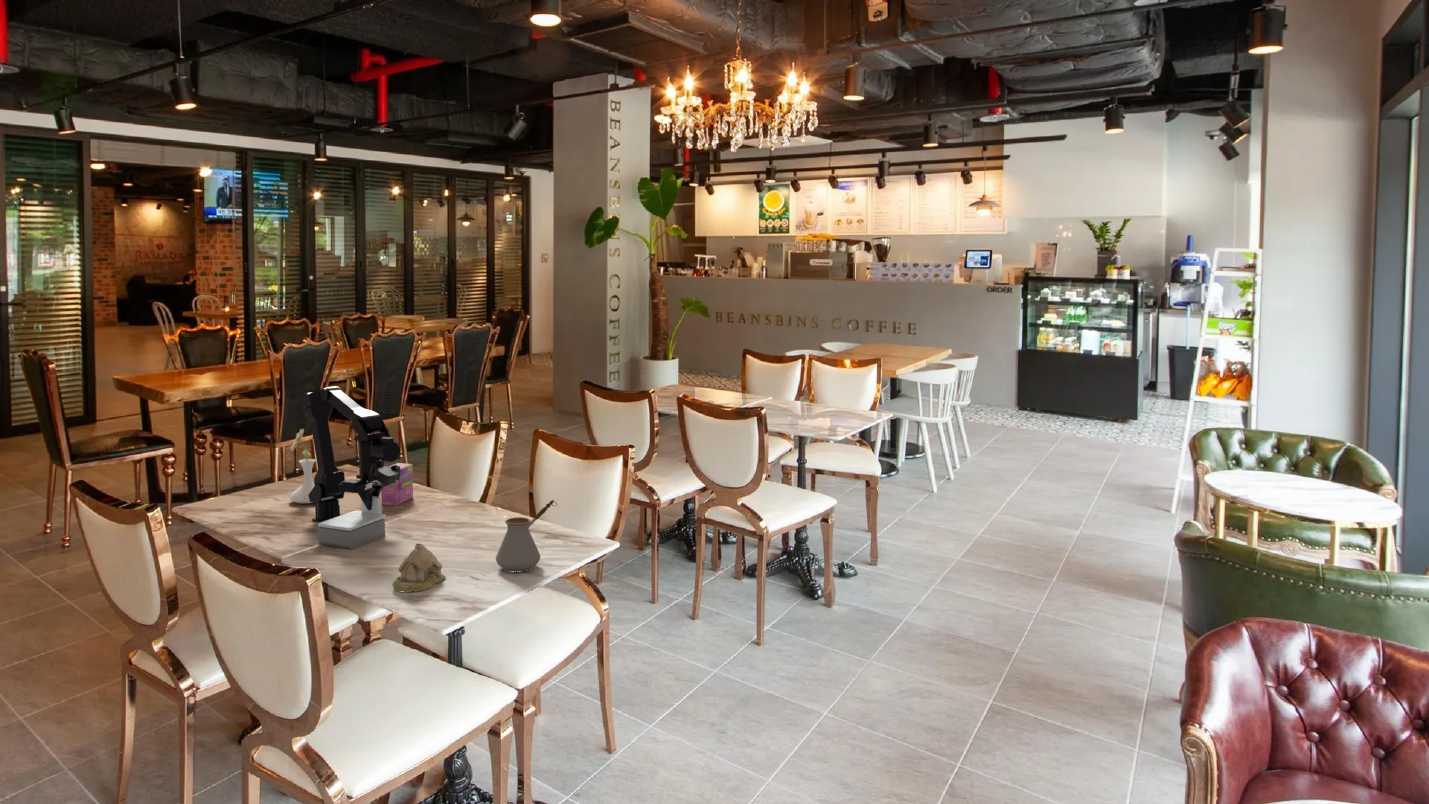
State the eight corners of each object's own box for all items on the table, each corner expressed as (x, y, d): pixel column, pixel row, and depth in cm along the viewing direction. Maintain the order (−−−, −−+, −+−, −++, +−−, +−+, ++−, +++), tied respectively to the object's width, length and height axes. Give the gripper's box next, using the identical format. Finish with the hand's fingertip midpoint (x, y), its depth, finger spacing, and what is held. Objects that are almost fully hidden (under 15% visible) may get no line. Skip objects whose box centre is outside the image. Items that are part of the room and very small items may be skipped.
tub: (318, 544, 246) (318, 527, 245) (354, 531, 259) (353, 514, 258) (350, 549, 242) (349, 532, 241) (385, 535, 255) (384, 518, 254)
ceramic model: (407, 572, 226) (406, 535, 224) (450, 574, 226) (449, 536, 224) (384, 592, 212) (383, 552, 211) (430, 594, 212) (429, 554, 210)
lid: (318, 526, 245) (317, 506, 244) (357, 512, 259) (357, 493, 259) (349, 531, 241) (349, 511, 240) (388, 516, 256) (387, 497, 255)
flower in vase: (297, 497, 294) (293, 423, 290) (332, 497, 295) (329, 423, 291) (282, 507, 281) (278, 431, 277) (319, 507, 282) (316, 431, 278)
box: (396, 506, 286) (395, 470, 285) (381, 504, 288) (379, 469, 286) (413, 498, 297) (412, 463, 295) (398, 496, 298) (397, 462, 296)
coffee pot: (521, 578, 224) (520, 521, 221) (486, 570, 229) (485, 514, 226) (571, 555, 242) (571, 502, 240) (538, 548, 248) (538, 496, 245)
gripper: (369, 466, 243) (371, 520, 246) (413, 453, 261) (414, 504, 263) (337, 462, 247) (339, 516, 249) (382, 450, 264) (384, 500, 267)
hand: (371, 509), depth 257 cm, fingers closed on lid
